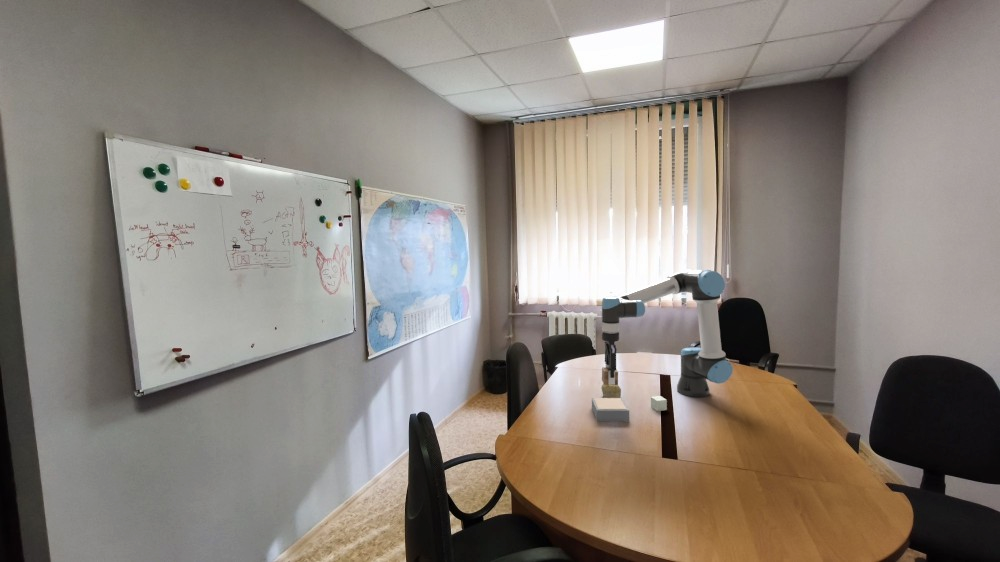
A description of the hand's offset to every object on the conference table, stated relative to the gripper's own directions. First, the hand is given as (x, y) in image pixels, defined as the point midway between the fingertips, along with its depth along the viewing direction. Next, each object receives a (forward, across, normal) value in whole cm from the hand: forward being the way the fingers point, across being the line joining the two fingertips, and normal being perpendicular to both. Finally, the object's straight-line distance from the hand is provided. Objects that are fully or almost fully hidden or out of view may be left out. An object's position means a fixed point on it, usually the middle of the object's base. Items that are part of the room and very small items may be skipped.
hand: (610, 381), depth 176 cm
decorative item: (+16, -21, +5) cm, 27 cm away
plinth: (+15, 0, 0) cm, 15 cm away
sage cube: (+15, -7, +24) cm, 29 cm away
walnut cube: (0, 0, 0) cm, 0 cm away
